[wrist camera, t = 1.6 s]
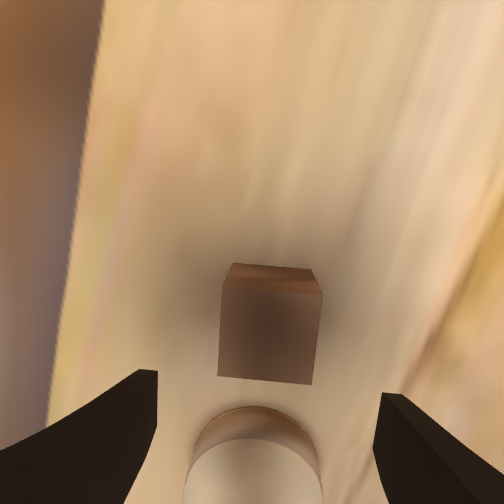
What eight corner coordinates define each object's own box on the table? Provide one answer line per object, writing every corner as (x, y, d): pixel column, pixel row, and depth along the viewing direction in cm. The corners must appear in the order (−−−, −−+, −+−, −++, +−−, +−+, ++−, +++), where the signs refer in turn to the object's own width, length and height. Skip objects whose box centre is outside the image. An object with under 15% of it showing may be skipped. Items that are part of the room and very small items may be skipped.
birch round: (323, 411, 21) (333, 456, 18) (309, 514, 23) (315, 572, 20) (197, 398, 22) (183, 439, 18) (192, 500, 24) (179, 556, 20)
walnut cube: (311, 269, 20) (322, 295, 15) (302, 341, 20) (311, 384, 16) (233, 262, 20) (222, 286, 15) (229, 334, 21) (217, 375, 16)
